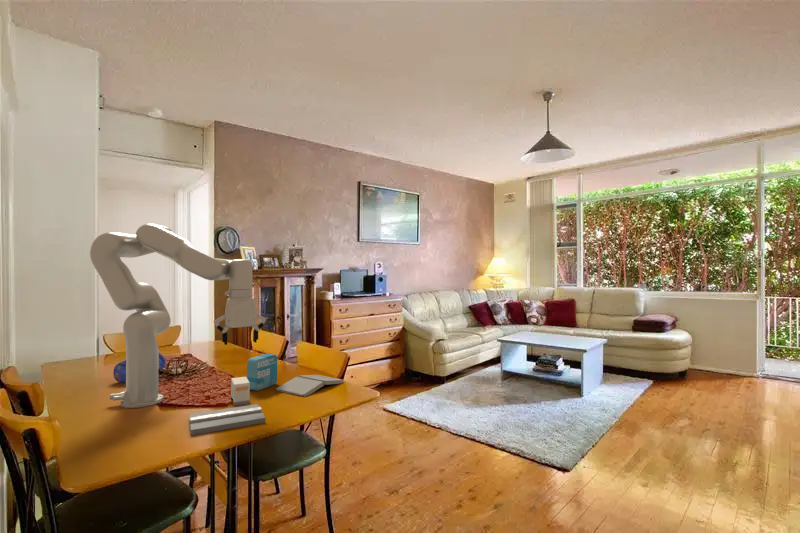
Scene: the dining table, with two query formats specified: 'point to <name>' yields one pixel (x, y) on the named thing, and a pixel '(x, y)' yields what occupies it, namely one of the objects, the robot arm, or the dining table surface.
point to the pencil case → (121, 369)
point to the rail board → (226, 419)
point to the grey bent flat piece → (306, 384)
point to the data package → (262, 371)
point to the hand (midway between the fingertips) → (240, 343)
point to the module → (240, 391)
